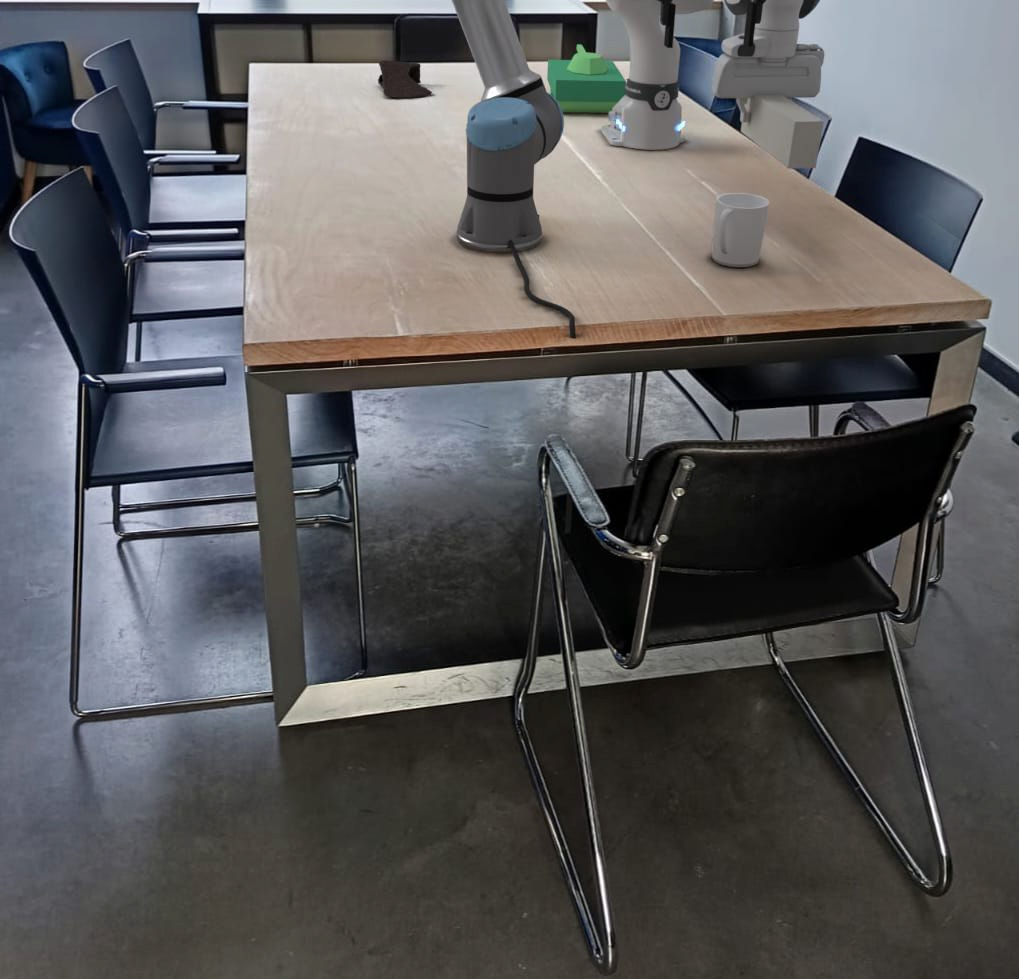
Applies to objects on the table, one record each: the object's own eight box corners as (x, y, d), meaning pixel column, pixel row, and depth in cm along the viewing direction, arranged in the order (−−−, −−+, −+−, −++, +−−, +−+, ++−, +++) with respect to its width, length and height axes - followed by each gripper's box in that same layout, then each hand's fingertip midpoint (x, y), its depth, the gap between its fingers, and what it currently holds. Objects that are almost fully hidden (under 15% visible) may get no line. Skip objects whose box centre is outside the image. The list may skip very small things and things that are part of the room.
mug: (725, 247, 195) (732, 189, 189) (770, 259, 190) (779, 200, 184) (692, 263, 187) (699, 203, 182) (739, 275, 183) (747, 215, 177)
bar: (815, 168, 190) (823, 121, 186) (787, 168, 190) (795, 121, 185) (766, 131, 212) (772, 88, 208) (740, 131, 211) (746, 88, 207)
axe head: (443, 87, 294) (392, 77, 287) (436, 115, 299) (385, 106, 292) (421, 62, 307) (371, 52, 300) (414, 89, 311) (365, 80, 304)
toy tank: (609, 41, 303) (627, 65, 273) (606, 87, 310) (623, 116, 280) (546, 39, 302) (556, 64, 272) (544, 86, 309) (554, 115, 279)
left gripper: (790, -102, 175) (773, 40, 186) (637, -101, 172) (629, 43, 183) (807, -99, 168) (788, 48, 179) (649, -98, 165) (639, 51, 177)
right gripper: (819, 40, 204) (807, 117, 211) (713, 41, 201) (705, 118, 209) (832, 47, 199) (819, 125, 206) (724, 47, 196) (714, 126, 203)
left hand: (708, 46), depth 181 cm, fingers open, 13 cm apart
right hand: (761, 121), depth 207 cm, fingers closed on bar, 5 cm apart
